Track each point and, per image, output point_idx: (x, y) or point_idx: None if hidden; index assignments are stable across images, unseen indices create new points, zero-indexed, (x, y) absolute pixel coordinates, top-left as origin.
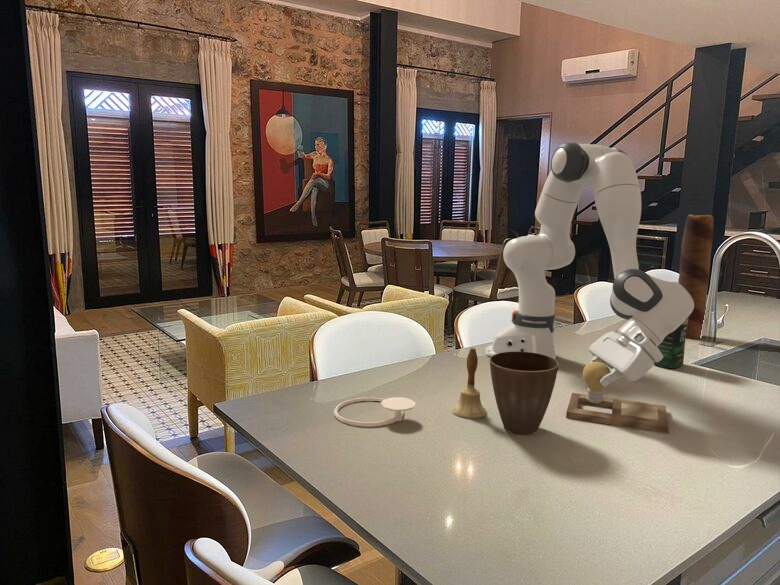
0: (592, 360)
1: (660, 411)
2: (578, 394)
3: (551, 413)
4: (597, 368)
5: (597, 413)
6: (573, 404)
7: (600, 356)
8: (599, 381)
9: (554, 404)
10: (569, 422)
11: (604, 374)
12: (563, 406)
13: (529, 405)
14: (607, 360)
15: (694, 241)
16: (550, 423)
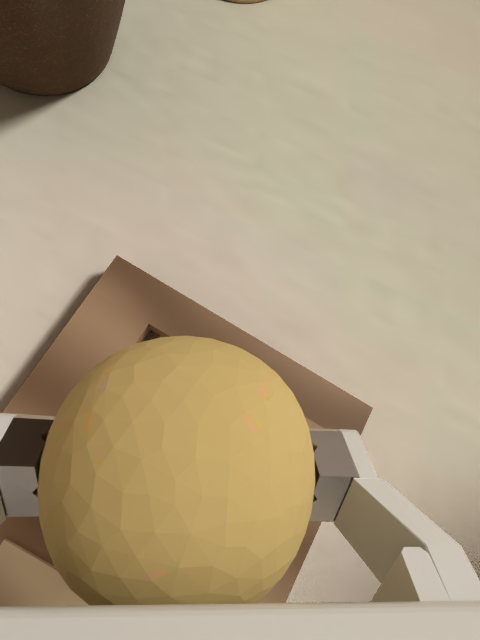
0: (416, 532)
1: None
2: None
3: (179, 226)
4: (78, 425)
5: (59, 404)
6: (205, 335)
7: (329, 616)
8: (27, 415)
9: (284, 288)
10: (63, 255)
11: (38, 493)
12: (256, 318)
13: None
14: (82, 632)
15: None
16: (70, 171)
